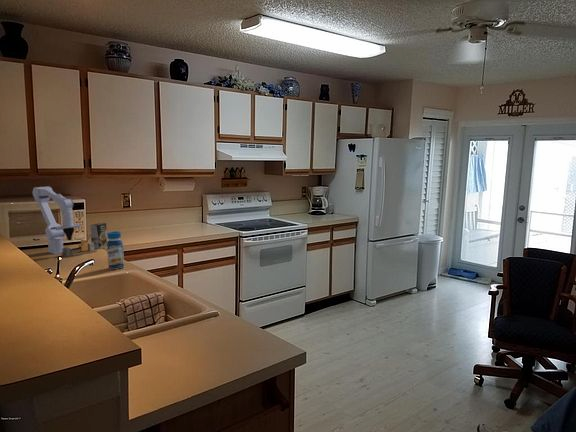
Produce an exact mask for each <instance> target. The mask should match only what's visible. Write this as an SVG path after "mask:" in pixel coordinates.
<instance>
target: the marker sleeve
mask: <svg viewBox="0 0 576 432" xmlns="http://www.w3.org/2000/svg"><path fill="white" fill-rule="evenodd" d="M78 247H81V249H78V251H88V244H86V239H80V244H78Z"/></svg>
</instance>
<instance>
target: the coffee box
mask: <svg viewBox="0 0 576 432" xmlns="http://www.w3.org/2000/svg"><path fill="white" fill-rule="evenodd" d="M89 227H90V230H89V231H90V242H92V243H94V246H95V250H96V249H97V250H101V249H103V248H108V247H107V243H108V236H107V233H108V230H107V223H106V222H103V223H102V222H99V223H94V224H90V225H89Z"/></svg>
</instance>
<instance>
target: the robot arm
mask: <svg viewBox="0 0 576 432" xmlns="http://www.w3.org/2000/svg"><path fill="white" fill-rule="evenodd" d="M32 196H33V198H34V201H35V202H36V203H37V205H38V207H39V209H40V211H41V213H42V216H43V219H44V220H45V223H46V228H45V231H44V232H45V235H46V238H47V239H48V242H47V245H48V247H47V248H48V251H47V253H49V254H52V255H56V254H57V255H58V254H63V251H62V248H64V240H63V239H64V237H65V236H66V238H67V241H72V237H73V234H74V231H75V228H81V227H82V225H81V223H76V224H74V220H73V219H74V218H73V208H74V200H73V199H72V198H66V197H65V196H63V195H62V194H61V193H56V192H55V191H54V190H53V188H52V187H51V186H49V185H48V186H47V185H46V186H38V187H35V186H34V187H33V188H32ZM50 199H52V201H53V203H55V204H57V205H58V206H59V208H60V212H61V217H62V218H61V219H62V224H59V223H58V222H56V221H57V220H56V219H55V217H54V215H53V212H52V210H51V208H50V205H49V203H48V202H49V201H50Z"/></svg>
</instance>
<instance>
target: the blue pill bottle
mask: <svg viewBox="0 0 576 432" xmlns="http://www.w3.org/2000/svg"><path fill="white" fill-rule="evenodd" d="M121 238H122V235H121V231H117V230H116V231H108V232H107V242H108V243H107V247H106V248H107V249H106V252H107V253H106V254H107V263H108V269H109V268H110V269H109V270H111V269H117V270H119V269H118V268H122V267H124V268H125V259H124V258H125V256H124V255H125V254H124V250H125V249H124V247H123V241H122V240H121ZM122 269H123V268H122Z"/></svg>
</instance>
